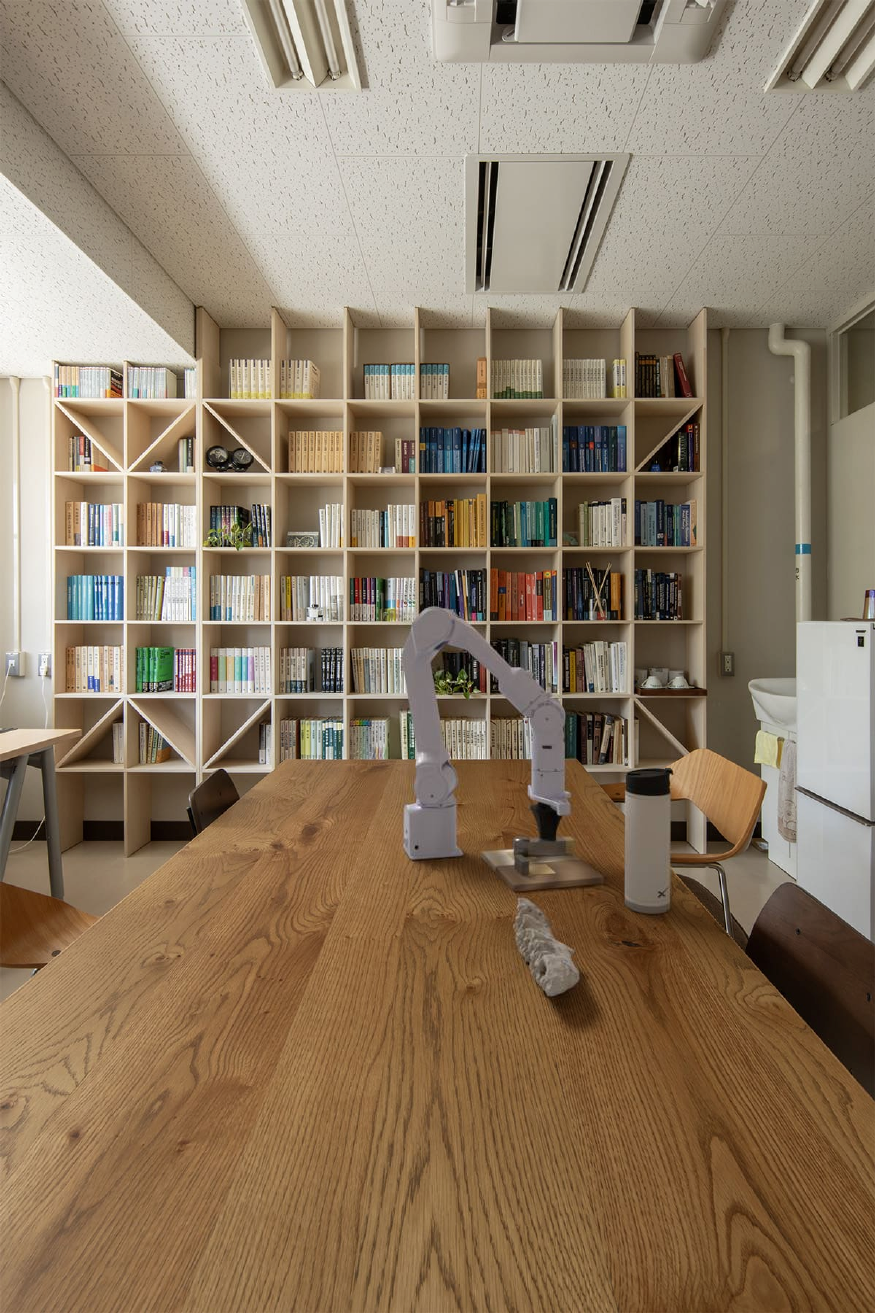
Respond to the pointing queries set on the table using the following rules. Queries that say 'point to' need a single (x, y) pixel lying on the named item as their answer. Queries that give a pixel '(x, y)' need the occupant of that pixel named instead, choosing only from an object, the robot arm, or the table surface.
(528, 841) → the latch bar
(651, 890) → the travel mug
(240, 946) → the table surface
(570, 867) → the door board
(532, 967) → the fossil
